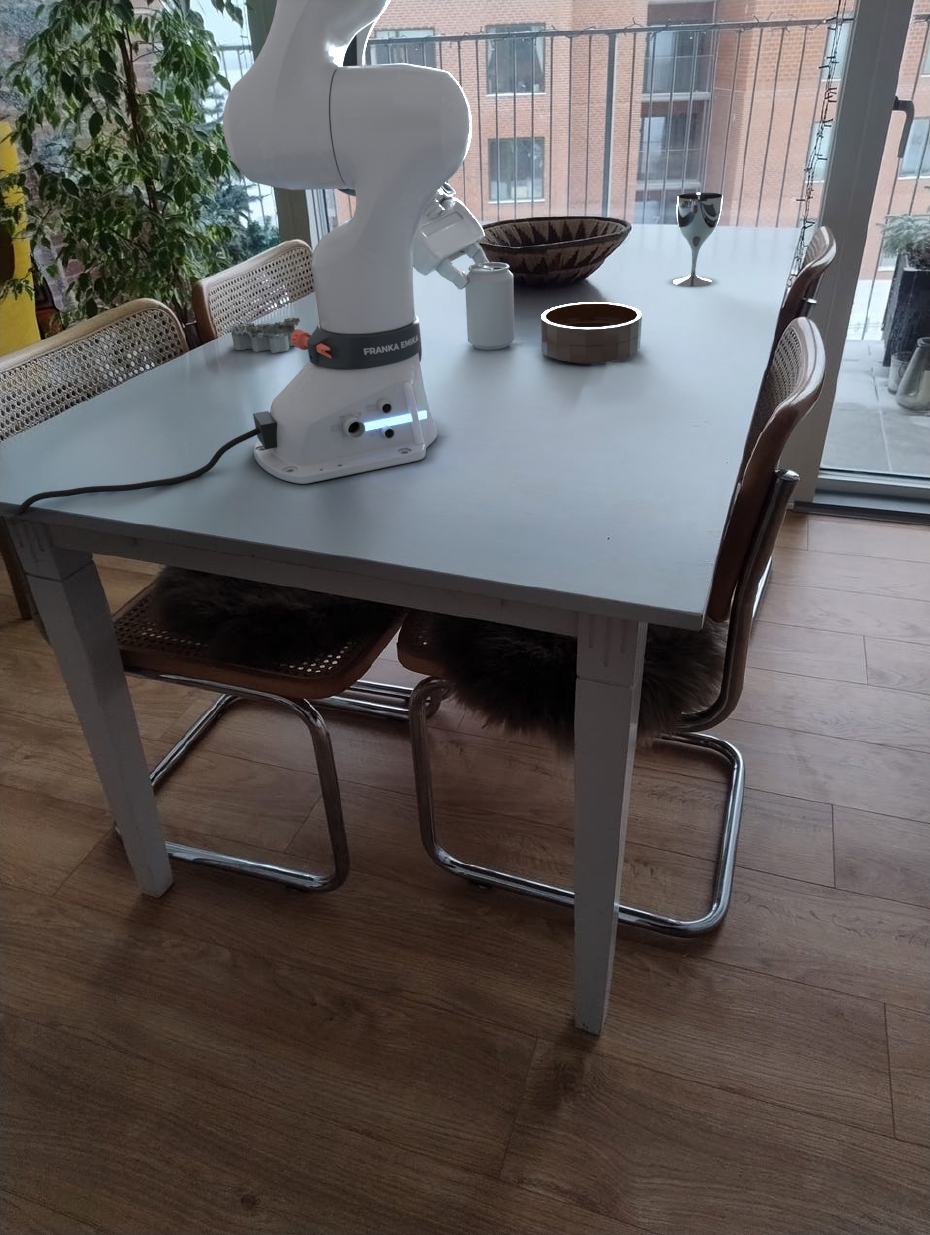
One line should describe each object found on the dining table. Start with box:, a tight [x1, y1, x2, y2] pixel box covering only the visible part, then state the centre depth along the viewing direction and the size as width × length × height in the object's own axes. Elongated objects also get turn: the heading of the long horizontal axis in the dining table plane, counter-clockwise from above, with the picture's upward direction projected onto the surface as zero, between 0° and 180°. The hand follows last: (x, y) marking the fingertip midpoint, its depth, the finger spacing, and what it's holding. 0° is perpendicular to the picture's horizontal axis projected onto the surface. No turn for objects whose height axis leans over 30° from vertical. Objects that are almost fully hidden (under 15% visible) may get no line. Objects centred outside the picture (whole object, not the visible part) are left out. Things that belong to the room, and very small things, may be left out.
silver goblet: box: [673, 192, 724, 288], centre depth 162 cm, size 8×8×15 cm
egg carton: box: [227, 317, 301, 354], centre depth 143 cm, size 11×8×4 cm
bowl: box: [540, 301, 643, 365], centre depth 131 cm, size 15×15×6 cm
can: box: [464, 261, 515, 351], centre depth 135 cm, size 8×8×12 cm
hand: (477, 278), depth 134 cm, fingers open, 8 cm apart
